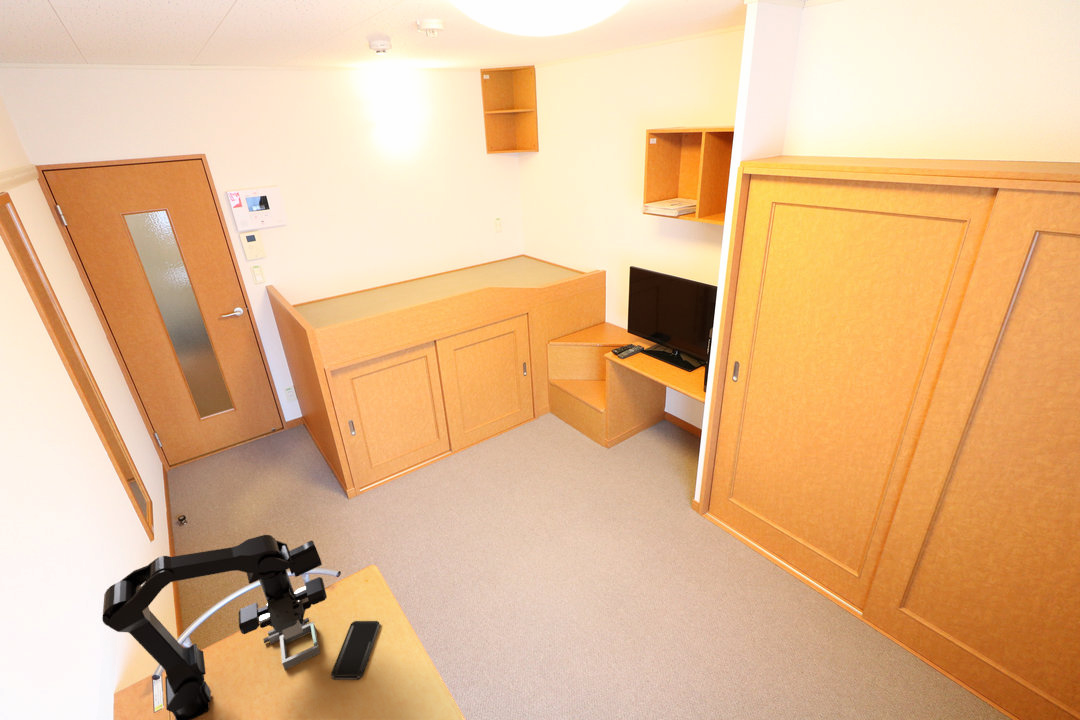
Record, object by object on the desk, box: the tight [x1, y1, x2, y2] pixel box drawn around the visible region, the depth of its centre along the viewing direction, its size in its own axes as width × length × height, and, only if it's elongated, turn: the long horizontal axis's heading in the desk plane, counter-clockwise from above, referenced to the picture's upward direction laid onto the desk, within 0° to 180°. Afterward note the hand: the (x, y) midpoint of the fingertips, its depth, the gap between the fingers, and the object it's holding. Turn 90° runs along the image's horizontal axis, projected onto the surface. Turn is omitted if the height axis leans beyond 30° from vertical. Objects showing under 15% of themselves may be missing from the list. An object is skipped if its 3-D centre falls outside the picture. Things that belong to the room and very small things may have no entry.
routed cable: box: [262, 617, 310, 645], centre depth 131 cm, size 11×2×2 cm, turn 120°
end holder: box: [279, 621, 321, 671], centre depth 127 cm, size 8×8×3 cm
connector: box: [282, 620, 303, 640], centre depth 123 cm, size 4×4×7 cm
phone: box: [330, 620, 381, 681], centre depth 127 cm, size 8×1×15 cm
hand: (292, 626), depth 124 cm, fingers closed on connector, 4 cm apart
